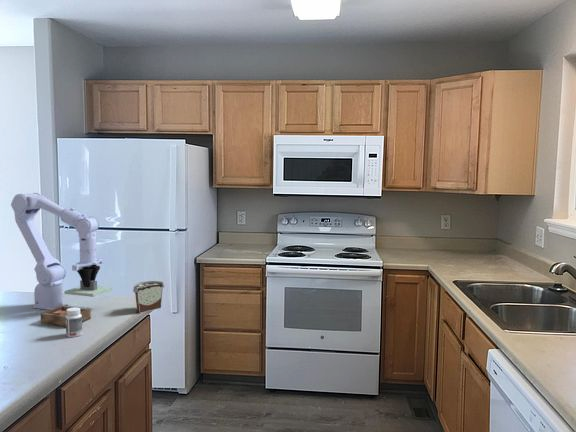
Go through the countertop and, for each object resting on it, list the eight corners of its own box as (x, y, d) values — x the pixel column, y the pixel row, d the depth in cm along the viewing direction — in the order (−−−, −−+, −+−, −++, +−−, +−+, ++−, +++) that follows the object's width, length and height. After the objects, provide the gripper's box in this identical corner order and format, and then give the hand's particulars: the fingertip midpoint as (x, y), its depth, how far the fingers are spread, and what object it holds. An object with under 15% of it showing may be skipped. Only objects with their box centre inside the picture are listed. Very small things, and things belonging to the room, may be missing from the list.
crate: (40, 323, 163) (40, 313, 162) (62, 315, 172) (62, 305, 172) (70, 327, 159) (69, 317, 159) (90, 318, 169) (90, 309, 168)
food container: (154, 304, 188) (154, 279, 187) (164, 307, 184) (164, 281, 183) (126, 310, 179) (126, 284, 178) (136, 314, 175) (135, 287, 174)
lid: (64, 293, 176) (64, 282, 175) (84, 287, 186) (84, 276, 185) (93, 296, 172) (93, 285, 172) (112, 289, 182) (112, 279, 182)
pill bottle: (85, 333, 154) (85, 307, 153) (75, 338, 150) (74, 311, 149) (73, 331, 155) (72, 306, 155) (62, 336, 151) (62, 310, 150)
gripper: (83, 253, 169) (84, 291, 171) (109, 247, 183) (110, 282, 184) (66, 252, 171) (67, 289, 173) (94, 246, 185) (95, 281, 186)
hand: (88, 286), depth 179 cm, fingers closed on lid, 2 cm apart
